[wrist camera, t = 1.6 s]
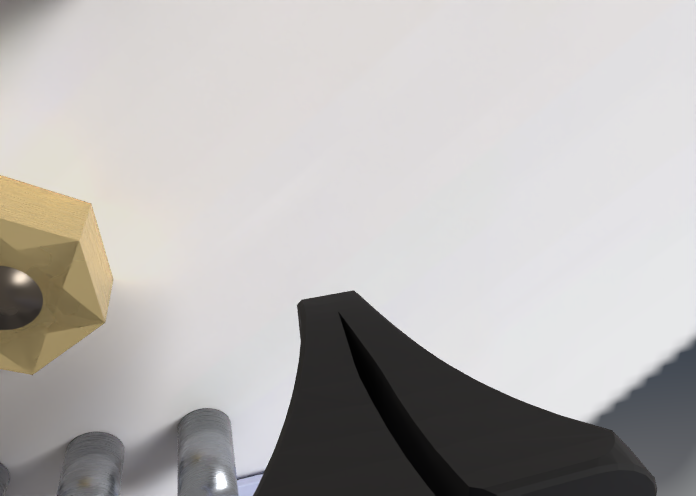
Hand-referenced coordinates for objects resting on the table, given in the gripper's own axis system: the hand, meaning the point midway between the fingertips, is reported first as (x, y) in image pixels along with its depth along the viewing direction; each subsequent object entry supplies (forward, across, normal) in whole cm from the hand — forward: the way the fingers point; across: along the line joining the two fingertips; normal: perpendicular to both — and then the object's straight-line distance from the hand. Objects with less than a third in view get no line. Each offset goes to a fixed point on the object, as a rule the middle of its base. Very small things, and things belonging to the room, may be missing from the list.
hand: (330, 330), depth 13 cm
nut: (+6, +8, 0) cm, 10 cm away
